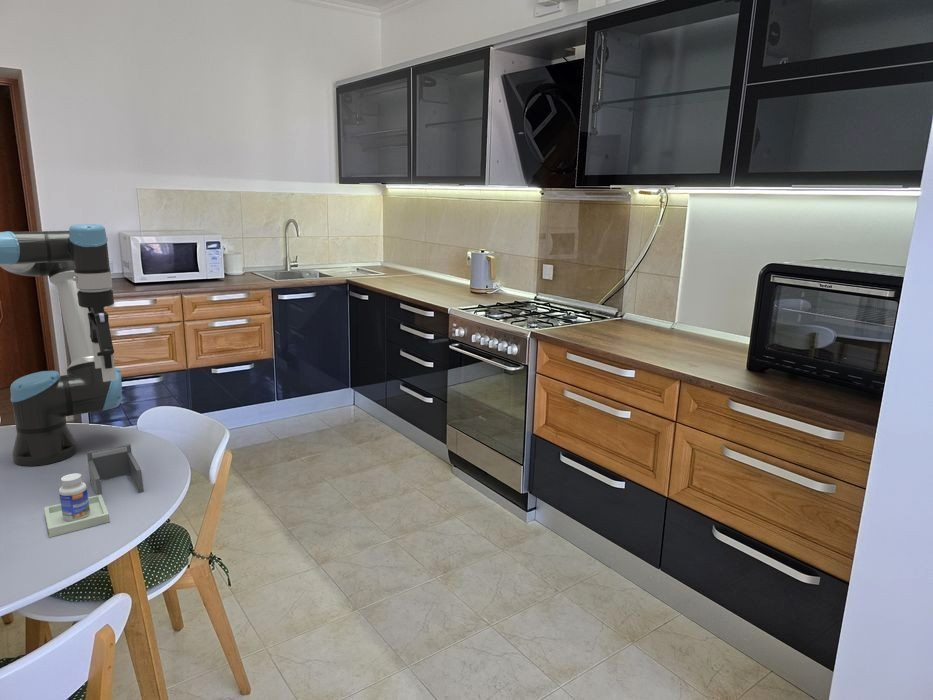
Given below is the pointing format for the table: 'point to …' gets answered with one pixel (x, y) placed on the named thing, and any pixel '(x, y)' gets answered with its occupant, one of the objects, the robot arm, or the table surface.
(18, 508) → the table surface
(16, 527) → the table surface
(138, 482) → the bay
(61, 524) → the tray
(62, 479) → the pill bottle
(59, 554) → the table surface
